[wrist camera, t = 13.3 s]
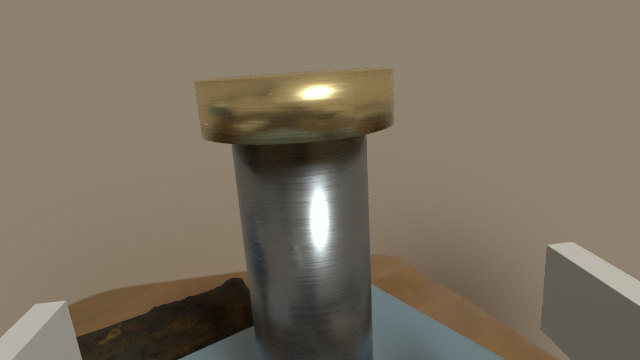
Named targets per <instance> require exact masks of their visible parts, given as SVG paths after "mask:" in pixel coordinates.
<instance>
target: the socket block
mask: <svg viewBox="0 0 640 360" xmlns="http://www.w3.org/2000/svg"><path fill="white" fill-rule="evenodd" d="M371 299H372V331H373V360H505V359H503V358H501V357H499V356H498V355H496V354H494V353H492V352H490V351H489V350H487V349H485V348H483V347H482V346H480V345H478V344H476V343H475V342H473V341H471V340H469V339H467V338H466V337H464V336H462V335H460V334H459V333H457V332H455V331H453V330H452V329H450V328H448V327H446V326H444V325H443V324H441V323H439V322H437V321H436V320H434V319H432V318H430V317H429V316H427V315H425V314H423V313H421V312H420V311H418V310H416V309H414V308H413V307H411V306H409V305H407V304H406V303H404V302H402V301H400V300H398V299H397V298H395V297H393V296H391V295H390V294H388V293H386V292H384V291H382V290H381V289H379V288H377V287H375V286H374V285H372V284H371ZM178 360H258V356H257V348H256V340H255V331H254V326H252V327H250V328H248V329H245V330H243V331H241V332H239V333H236V334H234V335H232V336H230V337H227V338H225V339H223V340H221V341H219V342H216V343H214V344H212V345H210V346H207V347H205V348H203V349H201V350H198V351H196V352H194V353H192V354H190V355H187V356H185V357H183V358H181V359H178Z"/></svg>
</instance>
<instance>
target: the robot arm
mask: <svg viewBox="0 0 640 360" xmlns="http://www.w3.org/2000/svg"><path fill="white" fill-rule="evenodd" d="M544 280H545V281H544V292H543V293H544V294H543V305H542V318H541V330H542V331H543V332H544V333H545V334H546V335H547V336H548V337H549V338H550V339H551V340H552V341H553V342H554V343H555V344H556V345H557V346H558V347H559V348H560V349H561V350H562V351H563V352H564V353H565V354H566V355H567V356H568V357H569V358H570V359H571V360H640V281H638V280H636V279H634V278H633V277H631V276H629V275H628V274H626V273H624V272H623V271H621V270H619V269H617V268H616V267H614V266H613V265H611V264H609V263H607V262H606V261H604V260H602V259H601V258H599V257H597V256H596V255H594V254H592V253H591V252H589V251H587V250H586V249H584V248H582V247H580V246H579V245H577V244H575V243H574V242H569V243H560V244H552V245H547V253H546V266H545V279H544ZM0 360H82V357H81V353H80V350H79V346H78V343H77V339H76V335H75V332H74V328H73V324H72V321H71V317H70V313H69V310H68V306H67V302H66V301H59V302H50V303H42V304H35V305H34V306H33V307H32V308H31V309H30V310H29V311H28V312H27V313H26V314H25V315H24V316H23V317H22V318H21V319H20V320H19V321H18V322H16V323H15V324H14V325H13V326H12V327H11V328H10V329H9V330H8V331H7V332H6V333H5V334H4V335H3V336H2V337H1V338H0Z"/></svg>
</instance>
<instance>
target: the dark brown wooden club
mask: <svg viewBox="0 0 640 360" xmlns="http://www.w3.org/2000/svg"><path fill="white" fill-rule="evenodd" d="M252 326H254V323H253V315H252V307H251V298H250V291H249V289H248V288H247V286H246V285H245V283H244V281H243V279H241V278H231V279H229V280H227V281H226V282H225V283H224V284H223V285H222V286H219V287H217V288H215V289H213V290H210V291H208V292H205V293H201V294H198V295H195V296H189V297H187V298H185V299H182V300H181V301H174V302H171V303H169V304H163V305H160V306H158V307H154V308H152V309H151V310H150V311H149V312H148V313H146V314H143V315H140V316H137V317H134V318H131V319H128V320H125V321H122V322H119V323H117V324H114V325H112V326H109V327H106V328H103V329H100V330H97V331H94V332H91V333H88V334H85V335H82V336H79V337H76V339H77V343H78V346H79V350H80V353H81V357H82V360H177V359H180V358H182V357H184V356H186V355H189V354H192V353H194V352H196V351H198V350H201V349H203V348H205V347H207V346H210V345H212V344H214V343H216V342H219V341H221V340H223V339H225V338H227V337H230V336H232V335H234V334H236V333H239V332H241V331H243V330H245V329H248V328H250V327H252Z"/></svg>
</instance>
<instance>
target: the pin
mask: <svg viewBox="0 0 640 360" xmlns="http://www.w3.org/2000/svg"><path fill="white" fill-rule="evenodd" d="M393 83H394V82H393V68H364V69H343V70H326V71H309V72H294V73H293V72H292V73H278V74H264V75H251V76H237V77H226V78H214V79H204V80H196V81H194V84H195V91H196V98H197V105H198V113H199V120H200V126H201V133H202V137H203V138H204V139H206V140H209V141H213V142H219V143H228V144H232V150H233V159H234V166H235V175H236V183H237V192H238V200H239V208H240V216H241V225H242V233H243V241H244V249H245V257H246V265H247V274H248V282H249V290H250V298H251V307H252V315H253V323H254V331H255V340H256V348H257V356H258V360H373V331H372V299H371V267H370V239H369V238H370V236H369V206H368V205H369V204H368V173H367V141H366V134H370V133H373V132H377V131H381V130H383V129H386V128H388V127H390V126H392V125H393V124H394V84H393Z"/></svg>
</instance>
